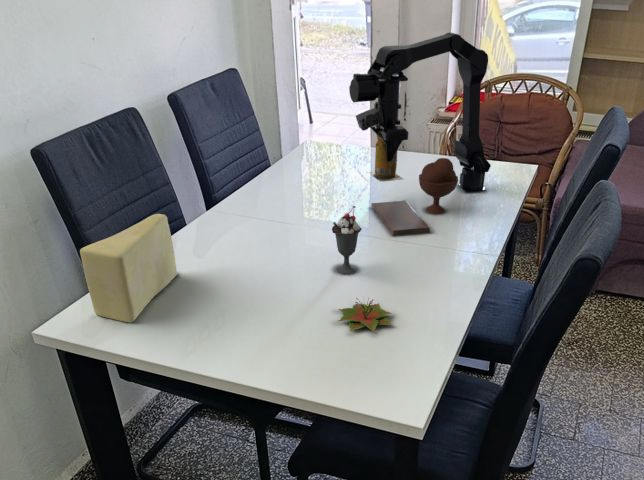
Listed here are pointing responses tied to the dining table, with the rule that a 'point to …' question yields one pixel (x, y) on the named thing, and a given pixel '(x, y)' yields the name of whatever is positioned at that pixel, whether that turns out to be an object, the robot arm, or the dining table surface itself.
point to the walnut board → (400, 218)
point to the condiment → (384, 163)
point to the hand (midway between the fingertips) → (385, 157)
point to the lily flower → (365, 316)
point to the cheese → (129, 268)
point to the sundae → (346, 240)
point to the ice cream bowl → (438, 182)
